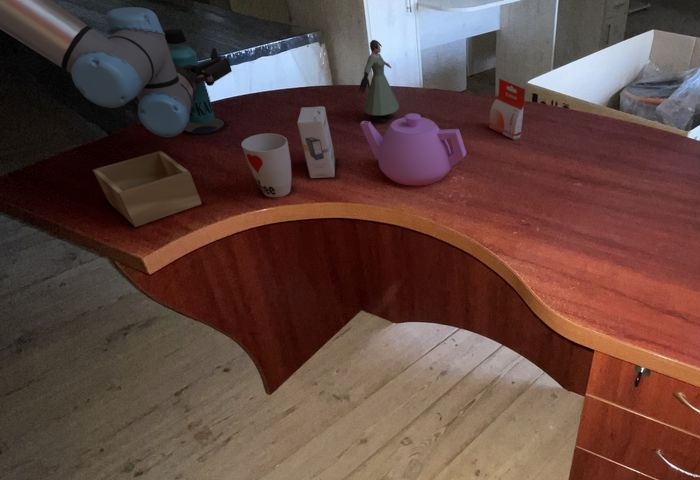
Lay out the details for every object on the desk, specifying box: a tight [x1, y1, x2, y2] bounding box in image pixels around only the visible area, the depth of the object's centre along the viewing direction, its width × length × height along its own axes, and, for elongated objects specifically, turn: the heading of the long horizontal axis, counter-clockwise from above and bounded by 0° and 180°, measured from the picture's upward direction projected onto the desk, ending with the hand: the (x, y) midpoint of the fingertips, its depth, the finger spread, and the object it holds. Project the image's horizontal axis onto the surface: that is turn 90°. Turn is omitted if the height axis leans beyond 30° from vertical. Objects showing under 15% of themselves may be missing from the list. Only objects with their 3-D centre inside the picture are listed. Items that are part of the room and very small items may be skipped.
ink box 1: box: [296, 105, 336, 179], centre depth 111 cm, size 9×5×12 cm, turn 10°
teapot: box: [359, 112, 467, 187], centre depth 112 cm, size 22×16×12 cm
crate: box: [92, 150, 202, 228], centre depth 100 cm, size 12×12×6 cm
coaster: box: [183, 117, 225, 135], centre depth 127 cm, size 9×9×1 cm
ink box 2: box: [488, 78, 526, 140], centre depth 129 cm, size 3×9×12 cm, turn 42°
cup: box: [241, 133, 293, 198], centre depth 104 cm, size 8×8×10 cm
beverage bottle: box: [163, 28, 216, 123], centre depth 120 cm, size 6×7×20 cm
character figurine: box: [358, 39, 400, 123], centre depth 129 cm, size 16×8×18 cm, turn 163°
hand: (182, 56), depth 120 cm, fingers open, 13 cm apart
